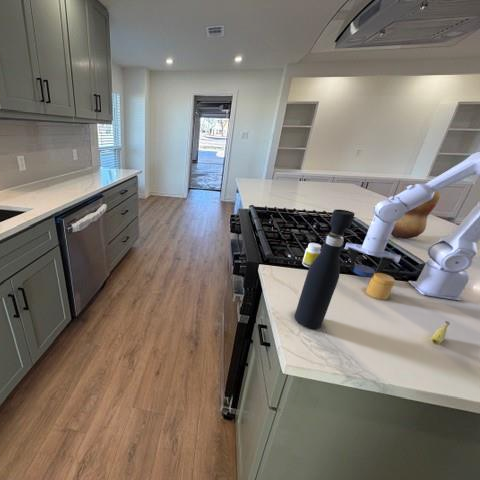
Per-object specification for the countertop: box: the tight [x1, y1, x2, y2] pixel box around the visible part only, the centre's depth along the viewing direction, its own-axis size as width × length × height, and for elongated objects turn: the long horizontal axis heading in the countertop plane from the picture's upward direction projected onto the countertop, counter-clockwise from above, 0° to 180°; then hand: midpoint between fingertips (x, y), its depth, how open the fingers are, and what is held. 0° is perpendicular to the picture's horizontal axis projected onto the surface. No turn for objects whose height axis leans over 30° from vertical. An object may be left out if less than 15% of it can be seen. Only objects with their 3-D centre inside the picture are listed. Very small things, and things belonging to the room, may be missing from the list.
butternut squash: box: [390, 190, 441, 240], centre depth 118 cm, size 14×13×25 cm
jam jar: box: [365, 272, 396, 301], centre depth 77 cm, size 5×5×6 cm
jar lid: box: [352, 263, 376, 278], centre depth 87 cm, size 6×6×2 cm
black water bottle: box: [293, 208, 356, 330], centre depth 61 cm, size 6×6×30 cm
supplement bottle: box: [301, 242, 322, 269], centre depth 93 cm, size 5×5×8 cm
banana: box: [430, 320, 451, 345], centre depth 61 cm, size 8×2×4 cm, turn 124°
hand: (362, 273), depth 88 cm, fingers closed on jar lid, 6 cm apart
